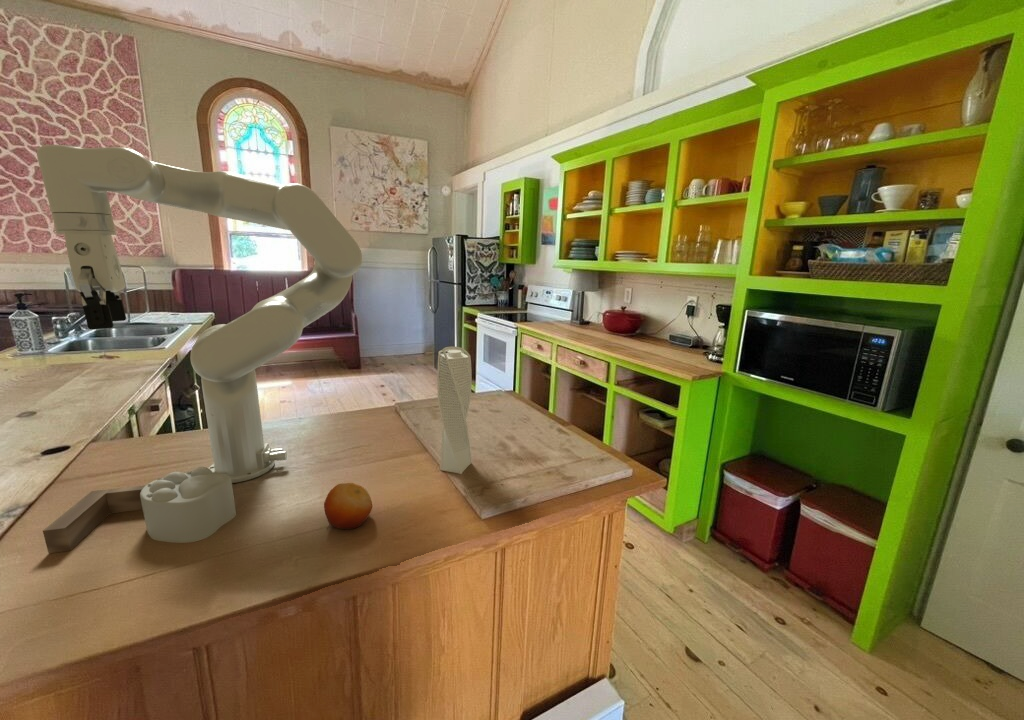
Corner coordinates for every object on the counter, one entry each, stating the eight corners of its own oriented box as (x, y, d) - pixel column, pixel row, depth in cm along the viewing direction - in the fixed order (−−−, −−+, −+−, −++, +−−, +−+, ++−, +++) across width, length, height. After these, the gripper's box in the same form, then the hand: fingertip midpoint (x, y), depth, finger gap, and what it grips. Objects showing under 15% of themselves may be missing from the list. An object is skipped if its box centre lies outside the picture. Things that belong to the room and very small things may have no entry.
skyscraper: (463, 478, 93) (461, 348, 86) (432, 472, 95) (428, 346, 89) (478, 462, 100) (477, 341, 94) (448, 457, 102) (446, 339, 96)
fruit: (322, 503, 80) (343, 468, 79) (362, 522, 82) (382, 488, 80) (306, 530, 72) (328, 492, 71) (350, 550, 74) (372, 513, 73)
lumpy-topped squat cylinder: (198, 545, 71) (189, 497, 69) (127, 537, 72) (116, 490, 70) (244, 509, 81) (238, 466, 79) (181, 503, 82) (173, 461, 80)
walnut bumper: (184, 500, 83) (181, 481, 82) (153, 539, 72) (148, 517, 71) (96, 511, 79) (91, 491, 78) (48, 553, 68) (42, 530, 67)
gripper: (100, 223, 70) (124, 329, 74) (125, 228, 84) (144, 316, 88) (34, 222, 66) (64, 334, 70) (72, 227, 81) (94, 320, 85)
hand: (108, 324), depth 79 cm, fingers open, 9 cm apart
